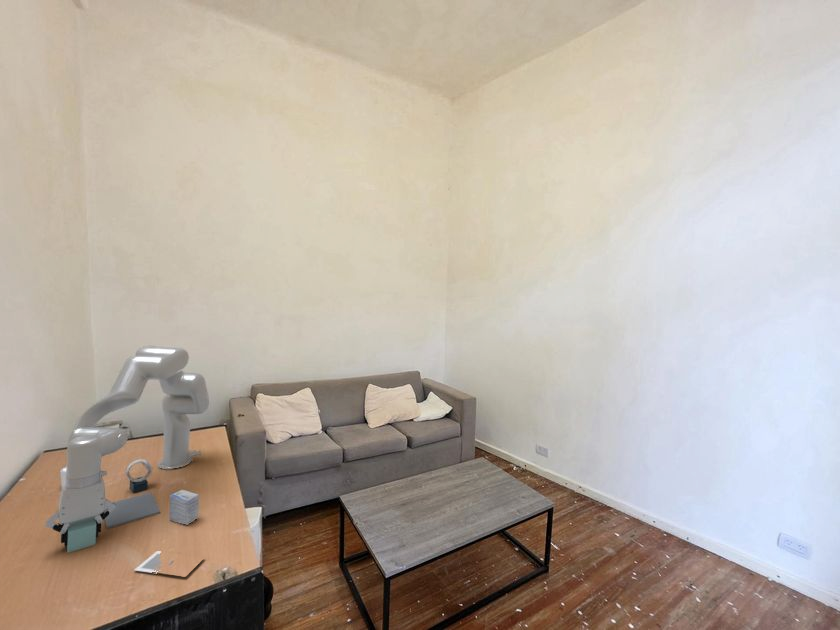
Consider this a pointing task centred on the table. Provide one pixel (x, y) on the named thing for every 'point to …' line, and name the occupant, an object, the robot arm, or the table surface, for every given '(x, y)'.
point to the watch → (140, 482)
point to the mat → (132, 510)
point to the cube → (81, 534)
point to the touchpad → (152, 563)
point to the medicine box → (184, 506)
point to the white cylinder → (63, 476)
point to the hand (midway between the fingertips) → (81, 538)
